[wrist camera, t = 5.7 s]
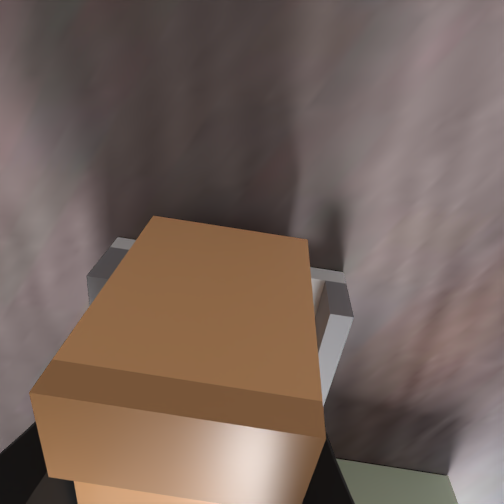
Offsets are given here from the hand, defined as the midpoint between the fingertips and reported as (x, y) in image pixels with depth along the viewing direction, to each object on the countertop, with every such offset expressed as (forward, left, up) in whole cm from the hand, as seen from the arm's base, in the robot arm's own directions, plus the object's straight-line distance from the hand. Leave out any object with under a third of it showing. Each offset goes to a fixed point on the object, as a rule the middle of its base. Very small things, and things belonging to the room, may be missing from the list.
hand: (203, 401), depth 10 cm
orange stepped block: (0, 0, -2) cm, 2 cm away
